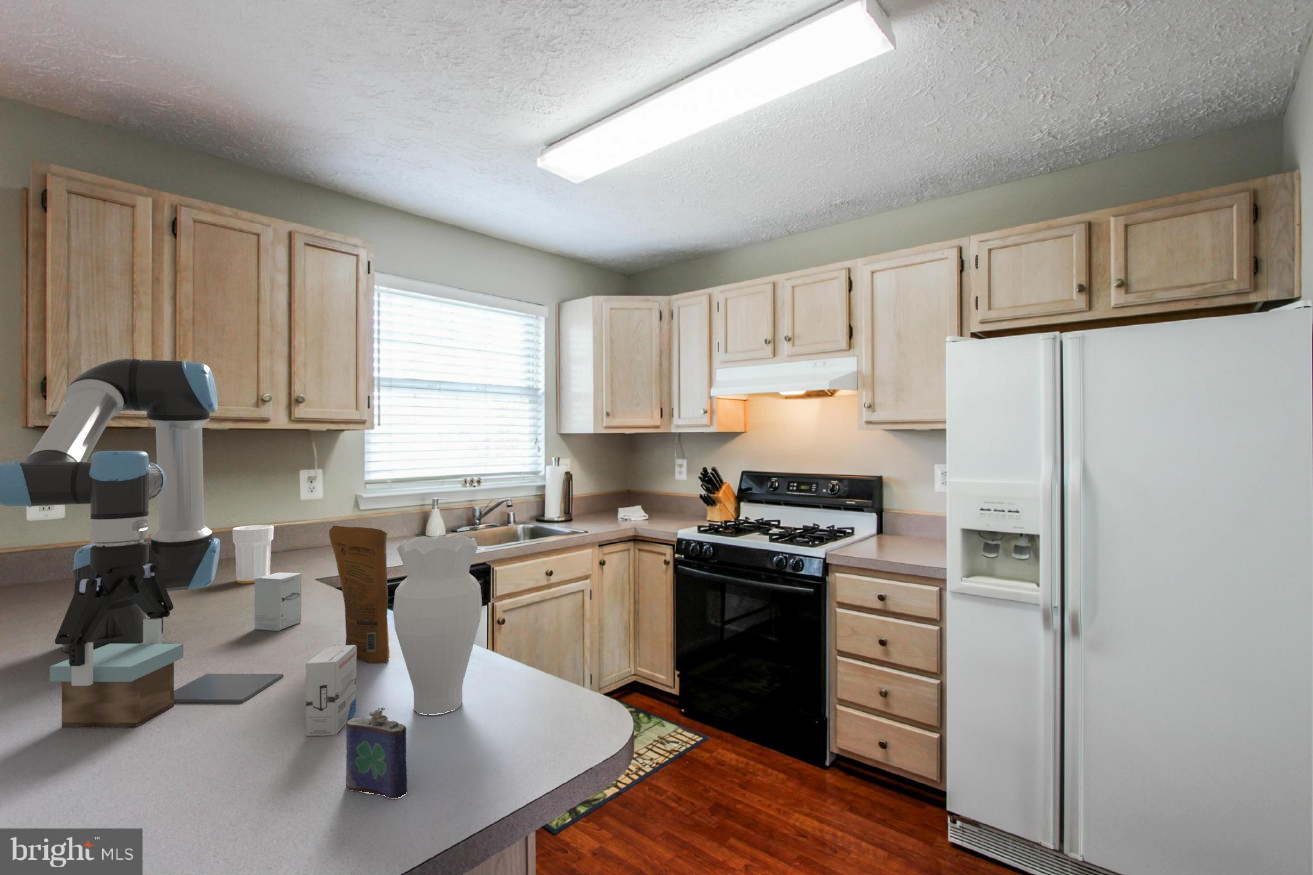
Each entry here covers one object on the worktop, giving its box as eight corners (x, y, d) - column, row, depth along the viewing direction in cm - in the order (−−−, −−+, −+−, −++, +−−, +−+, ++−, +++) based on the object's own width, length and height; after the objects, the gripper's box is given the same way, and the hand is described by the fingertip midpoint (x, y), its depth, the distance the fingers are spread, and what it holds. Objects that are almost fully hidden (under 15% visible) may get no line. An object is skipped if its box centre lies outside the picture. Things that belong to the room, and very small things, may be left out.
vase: (414, 688, 117) (414, 533, 117) (492, 689, 117) (492, 533, 117) (376, 724, 103) (377, 547, 103) (465, 726, 102) (466, 547, 102)
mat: (157, 702, 111) (157, 699, 111) (206, 676, 123) (206, 673, 123) (242, 702, 111) (242, 699, 111) (283, 676, 123) (283, 673, 123)
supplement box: (279, 631, 152) (279, 579, 152) (253, 629, 153) (253, 577, 153) (302, 622, 159) (302, 572, 159) (277, 620, 160) (277, 571, 160)
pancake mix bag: (371, 670, 127) (371, 531, 126) (325, 650, 138) (325, 523, 138) (402, 660, 132) (402, 527, 132) (355, 642, 143) (355, 520, 143)
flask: (341, 789, 84) (341, 709, 84) (357, 778, 87) (358, 700, 87) (398, 802, 81) (398, 719, 81) (413, 790, 84) (414, 709, 84)
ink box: (327, 713, 107) (327, 644, 107) (357, 712, 107) (357, 643, 107) (303, 737, 98) (303, 662, 98) (336, 736, 99) (336, 661, 99)
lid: (49, 696, 100) (49, 666, 100) (110, 670, 111) (110, 643, 111) (130, 696, 100) (131, 666, 100) (183, 670, 111) (183, 643, 111)
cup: (280, 579, 207) (280, 526, 207) (242, 586, 197) (242, 530, 197) (262, 575, 213) (263, 523, 213) (225, 581, 203) (225, 527, 203)
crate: (61, 727, 102) (61, 677, 102) (105, 705, 110) (105, 660, 110) (135, 727, 102) (135, 678, 102) (173, 706, 110) (174, 660, 110)
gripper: (73, 555, 93) (72, 699, 93) (197, 531, 118) (196, 645, 118) (22, 555, 93) (21, 699, 93) (157, 531, 118) (156, 645, 118)
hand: (119, 669), depth 105 cm, fingers open, 13 cm apart
